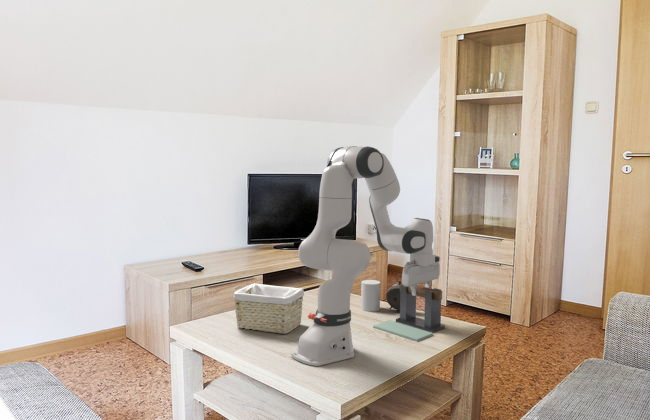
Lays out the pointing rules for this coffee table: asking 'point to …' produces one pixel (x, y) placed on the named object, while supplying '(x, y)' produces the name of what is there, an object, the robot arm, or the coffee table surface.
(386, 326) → the mat
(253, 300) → the storage basket
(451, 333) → the coffee table surface
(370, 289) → the white cylinder
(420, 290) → the rail
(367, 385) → the coffee table surface
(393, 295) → the alarm clock
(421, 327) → the hook stand
